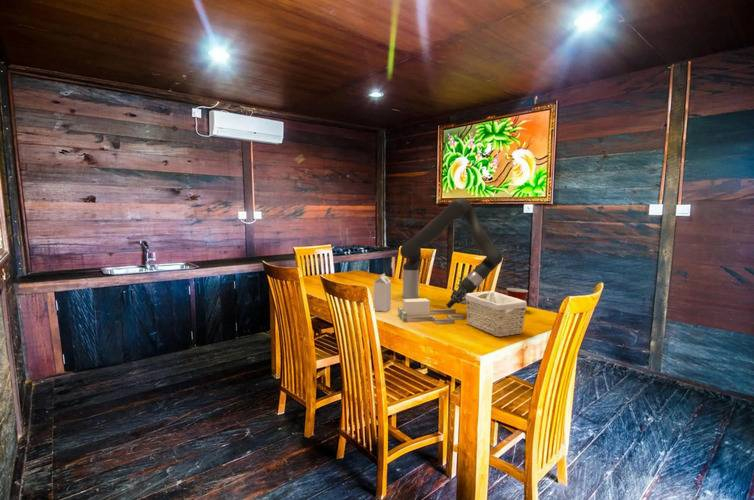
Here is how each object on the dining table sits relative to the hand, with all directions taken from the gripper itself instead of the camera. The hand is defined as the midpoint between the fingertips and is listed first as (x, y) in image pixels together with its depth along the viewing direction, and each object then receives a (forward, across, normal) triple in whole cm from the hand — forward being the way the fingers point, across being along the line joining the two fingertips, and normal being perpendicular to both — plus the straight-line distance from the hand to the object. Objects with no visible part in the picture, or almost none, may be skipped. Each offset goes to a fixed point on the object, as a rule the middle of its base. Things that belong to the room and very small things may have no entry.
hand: (447, 306), depth 193 cm
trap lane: (+10, 0, -3) cm, 10 cm away
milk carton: (+25, -17, -18) cm, 35 cm away
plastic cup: (-24, -3, +31) cm, 40 cm away
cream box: (+15, 0, -8) cm, 17 cm away
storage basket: (-6, +22, +13) cm, 26 cm away
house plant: (-11, -25, +18) cm, 33 cm away
